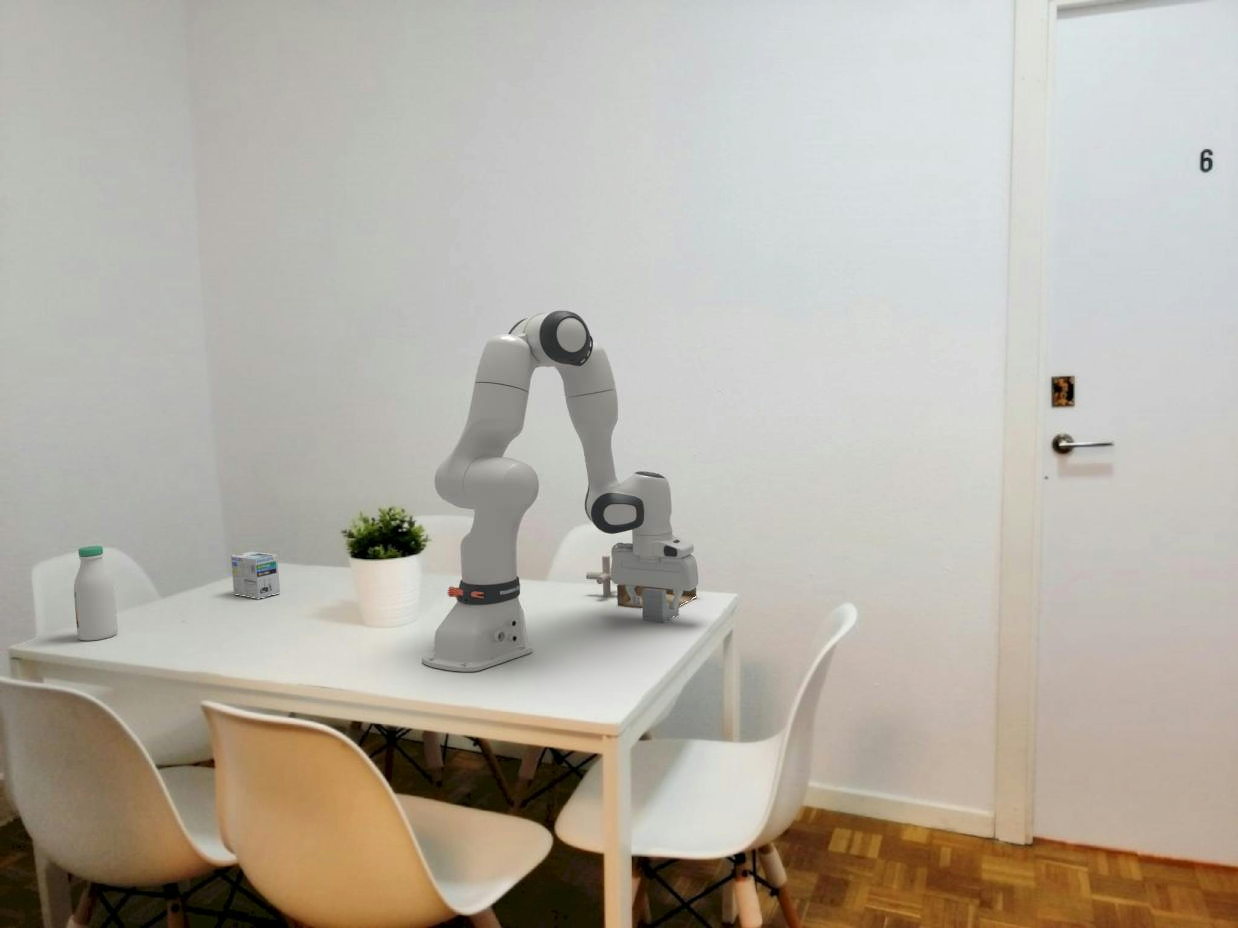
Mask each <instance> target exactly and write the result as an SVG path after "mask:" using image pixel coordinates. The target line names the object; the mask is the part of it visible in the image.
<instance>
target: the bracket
mask: <svg viewBox="0 0 1238 928" xmlns="http://www.w3.org/2000/svg"><path fill="white" fill-rule="evenodd" d="M669 606H670V605H667V603H666V590H661V589H652V588H645V589H643V590H642V609H641V610H642V621H643V622H649V623H657V624H664V623H666V622H668V621H669V619H670V618H672V617H673V616H675V615H677V614H678V613H679V612H680V609H679V608H680V607H679V606H678V608H677V609H669ZM679 614H680V613H679ZM677 616H678V615H677ZM675 617H676V616H675ZM673 618H674V617H673ZM673 618H672V619H673ZM667 620H668V621H667ZM670 620H671V619H670ZM665 621H666V622H665Z"/></svg>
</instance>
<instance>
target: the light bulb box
mask: <svg viewBox="0 0 1238 928" xmlns="http://www.w3.org/2000/svg"><path fill="white" fill-rule="evenodd" d="M230 559H231V560H230V561H231V574H232V587H233V595H234V594H239V595H245V596H249V597H255V598H262V597H266V596H268V595H272V594H277V593H279V592H280V593H281V588H280V576H279V563H278V554H277V553H276V554H275V553H266V552H258V551H257V552H256V551H248V552H242V553H238V554H232V555H230Z"/></svg>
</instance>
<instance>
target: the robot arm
mask: <svg viewBox="0 0 1238 928" xmlns="http://www.w3.org/2000/svg"><path fill="white" fill-rule="evenodd" d="M482 351H483V352H482V354H481V356H480V360H479V364H478V366H477V370H476V375H475V380H474V384H473V390H472V391H473V392H472V396H471V402H470V405H469V411H468V415H467V419H466V423H465V426H464V428H463V431H462V433H461V435H460V438H459V440H458V441H457V444H456V445H455V447H454V448H453V450H452V452H451V453H450V455H449V456H448V457H447V458H446V459H445V460H443V461H442V462H441V463H440V464H439V466H438V468H437V469H436V471H435V475H434V487H435V488H434V489H435V490H436V493H437V495H439V497H440V498H441V499H442V500H444V501H445V502H446V503H449V504H450V505H453V506H455V507H457V508H460V509H467V510H474V512H473V513H474V514H473V522H472V526H471V528H470V530H469V532H468V533H467V534H466V535H464V537H462V540H461V541H460V548H459V549H460V563H461V564H460V565H461V570H460V571H461V579H460V581H459V584H458V585H459V586H458V587H455V586H449V587H448V590H447V593H446V594H447V596H448V597H449V598H453V597H454V598H456V603H455V604H454V605H453V606H452V608H451V610H450V611H449V612H448V613H447V615H446V616H445V618H444V619H443V621H442V622H441V623H440V624H439V625H438V626H437V628H436V630H435V632H434V645H433V648H434V649H433V650H431V652H428V653H426V654H425V655H423V656H422V658H421V663H422V664H424V665H426V666H428V667H431V668H435V669H440V670H447V671H454V672H478V671H481V670H486V669H487V668H491V667H493V666H496V665H499V664H502V663H505V662H508V661H510V660H513V659H516V658H517V659H518V658H519V657H522V656H525V655H526V656H527V655H528V654H530V653H533V648H532V645H531V644H529V642H528V634H527V627H526V625H527V624H526V620H525V613H524V610H523V607H522V606H521V602H520V599H519V596H520V594H521V583H520V577H519V576H518V566H517V563H518V561H517V545H518V544H517V542H518V541H517V540H518V535H519V530H520V526H521V523H522V520H523V517H524V515H525V514H526V512H527V511H528V510H529V509H530V508H531V507H532V506H533V504H535V502H536V501H537V497H538V495H539V489H540V483H539V477H538V474H537V473H536V470H534V468H533V467H532V466H531V465H529V464H528V463H525V462H524V461H523V462H522V461H521V460H517V459H515V458H512V457H504V454H505V452H506V451H507V448H508V446H509V445H510V444H511V442H512V441H513V440H514V439H516V438H518V436H519V435H520V434H521V433H522V431H523V429H524V425H525V419H526V414H527V406H528V401H529V400H528V399H529V395H530V388H531V380H532V377H533V374H534V371H535V370H536V368H540V367H541V368H542V367H546V368H551V367H552V368H553V367H554V368H555V369H556V371H557V372H558V373H559V374H560V375H559V376H560V378H561V380H562V382H563V384H562V385H563V391H564V398H565V402H566V403H565V404H566V407H567V411H568V415H569V418H570V420H571V423H572V425H573V428H574V431H575V432H576V434H577V436H578V438H579V440H580V442H581V446H582V450H583V455H584V462H585V468H586V473H587V474H586V475H587V480H588V486H587V491H586V495H585V500H584V510H585V514H586V516H587V518H588V519H589V520H590V521H591V523H592V524H593V525H594V526H595V527H596V528H597V529H598V530H599V531H601V532H602V533H605V534H609V535H614V534H620V533H624V532H628V531H631V534H632V535H631V537H632V538H631V539H632V543H628V542H627V543H626V542H625V543H624V542H617V543H616V544H614V545H613V546H612V547H611V564H610V568H611V580H610V581H612V583H613V584H615V585H618V584H622V585H626V591H627V592H628V594H629V596H630V597H631V605H639V604H640V596H637V595H636V592H635V590H634V588H635V587H636V586H642V587H652V588H663V589H673V594H676V595H675V597H674V599H672V600H671V601H669V605H670V606H669V609H677V608H678V600H679V599H680V597H681V595H682V593H683V591H691V590H693V589H694V588H696V589H697V587H698V584H699V572H698V571H699V570H698V564H697V560H696V558H695V556H694V555H693V554H692V553H693V552H694V549H695V547H694V544H693V543H692V542H689V541H687V540H685V539H682V538H679V537H678V536H675V535H673V528H672V524H671V516H672V514H673V513H672V512H673V510H672V508H673V507H672V495H671V494H672V493H671V488H670V484H669V480H668V479H667V478H666V477H665V476H664V475H662V474H660V473H656V472H651V471H643V470H642V471H636V472H634V473H633V474H632V475H630V477H628V478H627V479H625V480H623V481H621V482H620V483H619V482H618V479H617V476H616V469H615V464H614V458H613V449H612V436H613V432H614V429H615V427H616V425H617V423H618V420H619V415H618V414H619V403H618V392H617V387H616V382H615V378H614V373H613V370H612V366H611V364H610V360H609V358H608V354H607V353H606V350H605V348H604V347H603V345H602V344H600V343H598V342H596V341H594V339H593V337H592V336H591V333H590V330H589V327H588V326H587V324H586V322H585V320H584V319H583V318H582V317H581V316H580V315H578V314H577V313H575V312H573V311H569V310H555V311H552V312H543V313H542V312H541V313H537V314H535V315H532V316H530V317H525V318H524V319H520V320H519V321H517V323H515V324H514V325H513V326H512V327H511V328H510V330H509V332H508V333H500V334H496V335H494V336H492V337H490V338H489V339H488V340H487V342H486V344H485V346H484V348H483V350H482Z"/></svg>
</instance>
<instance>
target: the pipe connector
mask: <svg viewBox="0 0 1238 928" xmlns="http://www.w3.org/2000/svg"><path fill="white" fill-rule="evenodd" d="M610 557H611V556H610V555H602V557H601V562H602V572H598V571H596V572H595V571H594V572H593V571H587V572H586V573H585V578H586V579H587V580H596V583H597V584H598V585H602V593H603V595H602V596H603V598H609V597H611V581H612V580H611V564H610V563H611V562H610Z"/></svg>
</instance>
